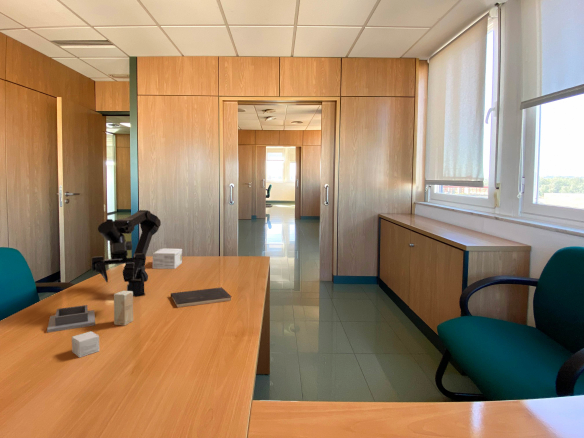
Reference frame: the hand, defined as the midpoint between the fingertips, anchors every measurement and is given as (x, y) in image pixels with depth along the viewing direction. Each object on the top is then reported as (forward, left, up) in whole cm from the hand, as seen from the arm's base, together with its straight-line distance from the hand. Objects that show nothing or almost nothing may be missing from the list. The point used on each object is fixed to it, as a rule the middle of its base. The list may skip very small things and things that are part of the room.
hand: (121, 280), depth 135 cm
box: (0, +8, -14) cm, 16 cm away
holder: (+16, -1, -13) cm, 21 cm away
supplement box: (-32, -78, -14) cm, 85 cm away
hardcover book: (-32, -7, -14) cm, 36 cm away
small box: (+12, +27, -14) cm, 33 cm away
